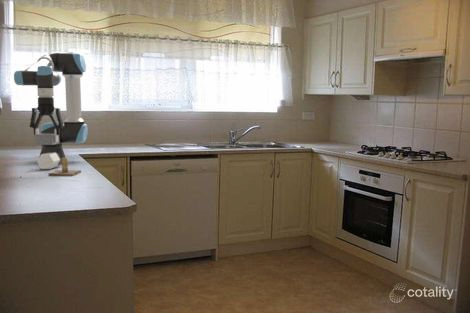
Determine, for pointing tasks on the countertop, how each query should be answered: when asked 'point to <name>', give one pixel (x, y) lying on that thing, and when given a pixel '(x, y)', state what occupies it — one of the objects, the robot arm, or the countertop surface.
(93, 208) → the countertop surface
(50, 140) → the grey hollow block
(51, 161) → the jar
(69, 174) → the keeper
